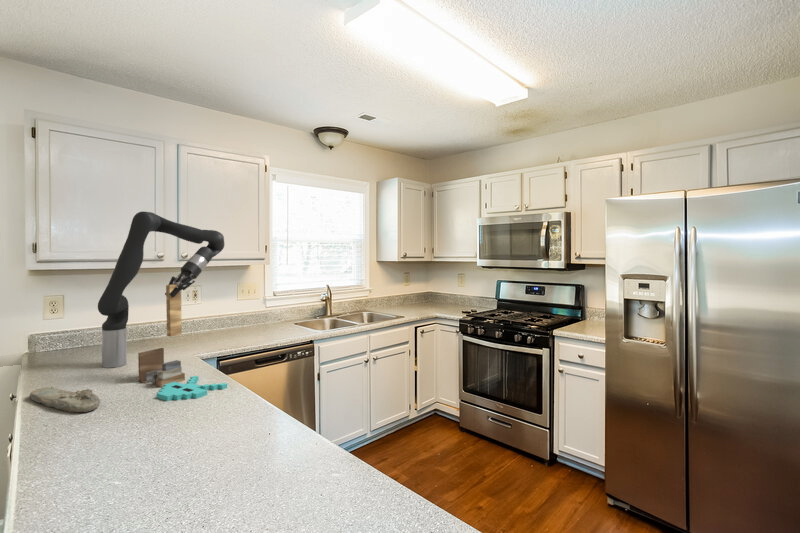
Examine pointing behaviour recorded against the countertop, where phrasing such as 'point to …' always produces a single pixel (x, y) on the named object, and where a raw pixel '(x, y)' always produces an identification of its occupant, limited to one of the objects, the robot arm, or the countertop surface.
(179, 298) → the tall panel
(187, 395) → the alien figure
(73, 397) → the elongated rock
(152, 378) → the rack
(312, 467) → the countertop surface
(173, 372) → the offcut stack
